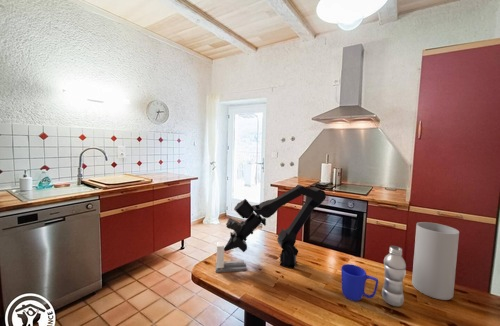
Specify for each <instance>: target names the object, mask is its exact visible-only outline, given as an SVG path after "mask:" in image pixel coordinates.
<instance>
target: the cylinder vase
mask: <svg viewBox="0 0 500 326" xmlns="http://www.w3.org/2000/svg"><path fill="white" fill-rule="evenodd" d="M459 236H460V231H459V230H458V229H457V228H455V227H451V226H449V225H446V224H445V225H444V224H441V223H436V222H429V221H428V222H427V221H425V222H424V221H421V222H419V221H418V222H416V226H415V241H414V252H413V262H412V264H413V265H412V278H411V285H412V286H413V288H415V289H416V290H417V291H418V292H420V293H421V294H422V295H425V296H427V297H430V298H431V299H432V298H433V299H437V300H441V301H442V300H443V301H449V300H451V299H453V298H454V292H455V290H454V289H455V283H456V282H455V281H456V270H457V269H456V268H457V258H458V249H459V238H460V237H459Z"/></svg>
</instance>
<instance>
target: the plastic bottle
mask: <svg viewBox="0 0 500 326" xmlns="http://www.w3.org/2000/svg"><path fill="white" fill-rule="evenodd" d="M388 249H389V250H388V252H389V253H388V254H386V255H385V256H384V259H383V267H384V268H383V269H384V279H383V286H382V288H381V297H382V299H383V300H384V302H385V303H386V304H388V305H391V306H393V307H402V305H404V303H405V296H404V287H403V286H404V285H403V283H404V278H405V277H404V273H405V270H406V269H407V264H406V261H405V259H404V258H403V248H402V247H400V246H397V245H390V246H389V248H388ZM403 277H404V278H403Z"/></svg>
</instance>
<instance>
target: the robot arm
mask: <svg viewBox="0 0 500 326" xmlns="http://www.w3.org/2000/svg"><path fill="white" fill-rule="evenodd" d="M301 196H305V202H304V204H303V205H302V207H301V208H300V210H299V211H298V213H297V214H296V216H295V217H294V219H293V220H292V221H291V223H290V224H289V227H287V228H286V229H284V228H282V229H281V230H280V232H279V233H278V234H277V239H276V240H277V243H278V245H279V246H280V248H281V249H282V250H281V253H280V254H279V262H280V264H279V266H282V267H285V268H288V269H292V270H294V269H295V267H296V265H297V264H298V261H297V255H298V254H299V250H298V249H297V247H296V245H295V244H296V241H297V236H298V234H299V232H300V230H301V229H302V228H303V226H304V225H305V223H306V221H307V220H308V218H309V217H310V216H311V214H312V212H313V211H314V209H316V208H317V207H319V206H321V204H322V203H323V202H325V200H326V198H327V195H326V192H325V191H324V190H322V189H320V188H317V187H314V186H313V187H308V186H303V185H302V184H297V185H296V186H295V187H291V189H289V190H287V191H286V192H284V193H282V194H280V195H278V196H276V197H275V198H272V199H267V200H264V201H262V202H260V203H259V204H254V205H252V204H250V203H249V201H248V200H247V198H244V199H243V200H241V201H240V202H238V203H237V204H236V205H235V207H234V208H233V210H234V211H235V212H236V213H237V215H239V216H240V217H241V218H242V219H245V220H241V221H237V220H236V219H233V218H231V217H229V218H228V219H227V221H226V224H225V225H226V228H227V229H229V230H233V231H230V232H229V233H230V234H229V235H230V236H229V237H230V238H229V239H228V241H227V243H226V245H224V252H228V251H230V250H234V249H239V250H240V251H242V252H243V253H245V252H246V250H248V244H247V242H246V241H247V240H248V239H247V238H248V237H249V236H250V235H253V234H254V231H255V230H256V229H257V228H258V227H259V226H261V224H262V225H263V226H266V225H267V224H266V223H267V222H266V221H267V219H269V218H271V216H272V217H273V215H275V213H277V211H278V210H279V209H280V208H281V207H283V206H285V205H287V204H288V203H291V202H292V201H293V200H295V199H297V198H299V197H301Z"/></svg>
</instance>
